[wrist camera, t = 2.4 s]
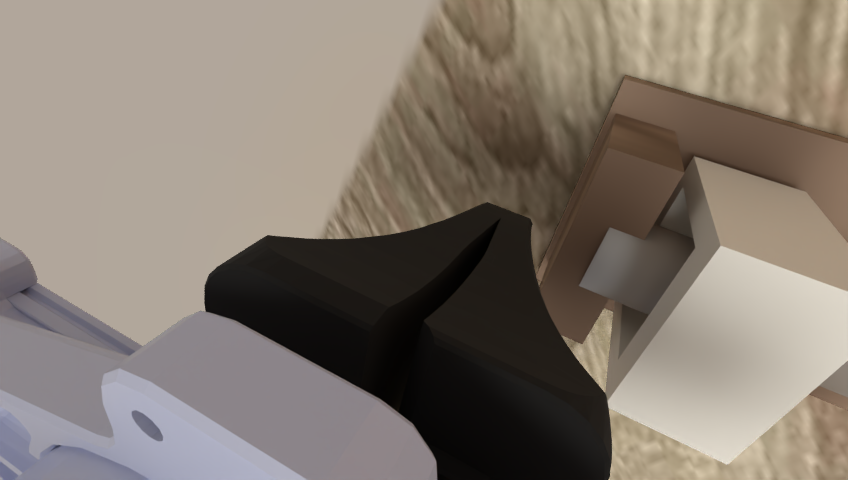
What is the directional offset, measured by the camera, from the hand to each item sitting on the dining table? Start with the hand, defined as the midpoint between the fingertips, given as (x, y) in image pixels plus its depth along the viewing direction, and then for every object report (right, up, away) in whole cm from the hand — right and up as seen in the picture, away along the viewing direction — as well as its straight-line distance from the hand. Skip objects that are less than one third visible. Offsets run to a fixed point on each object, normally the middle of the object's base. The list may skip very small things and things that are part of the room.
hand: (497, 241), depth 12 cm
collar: (+7, 0, +2) cm, 7 cm away
